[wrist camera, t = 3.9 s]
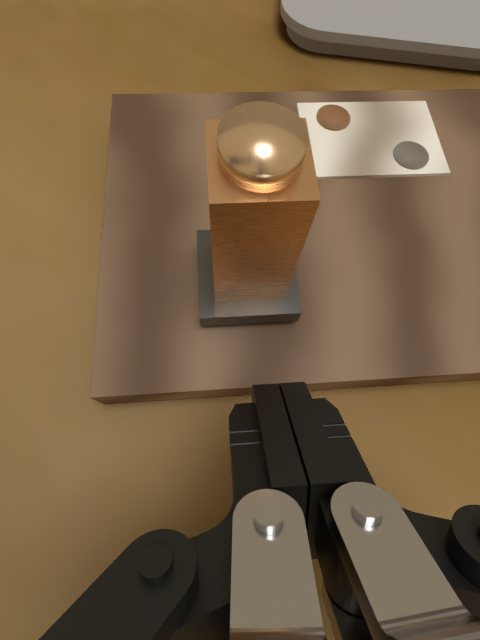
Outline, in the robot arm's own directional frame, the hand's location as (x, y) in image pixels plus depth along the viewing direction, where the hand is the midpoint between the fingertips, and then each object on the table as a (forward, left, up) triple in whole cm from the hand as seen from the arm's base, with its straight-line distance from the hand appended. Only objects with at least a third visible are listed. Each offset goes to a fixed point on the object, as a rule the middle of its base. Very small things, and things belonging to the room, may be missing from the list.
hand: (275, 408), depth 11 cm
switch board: (+8, +11, -7) cm, 15 cm away
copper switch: (0, +7, -5) cm, 8 cm away
